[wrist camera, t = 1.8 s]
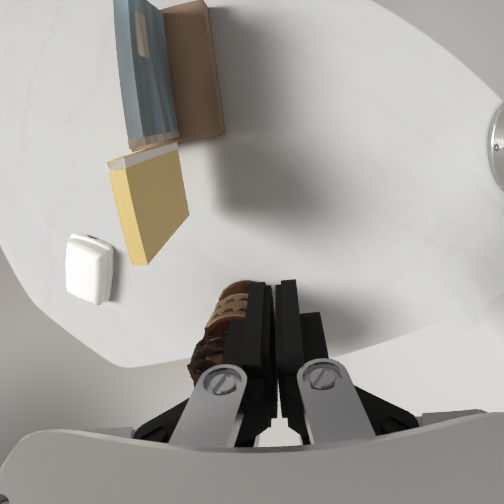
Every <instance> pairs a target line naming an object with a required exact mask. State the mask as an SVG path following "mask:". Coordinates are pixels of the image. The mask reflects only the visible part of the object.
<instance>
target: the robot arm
mask: <svg viewBox="0 0 504 504" xmlns="http://www.w3.org/2000/svg"><path fill="white" fill-rule="evenodd" d="M488 156H489V162H490V167H491V170H492V173H493V176H494V178H495V180H496V182H497V184H498V185H499V187H500V188H501V189H502V191H504V103H503V104H502V105H501V106H500V107H499V108H498V110H497V111H496V112H495V115H494V117H493V119H492V122H491V125H490V128H489V135H488ZM278 385H279V393H280V402H281V412H282V418H288V426H289V427H290V428H291V429H293V430H294V431H296V432H297V433H299V434H300V443H301V445H299V446H283V447H258V444H259V434H260V433H262V432H263V431H264V430H266V429H267V428H268V427H271V418H277V401H278V390H277V389H278ZM0 504H504V412H503V413H502V412H492V413H487V412H485V411H483V410H477V409H473V410H464V411H452V412H437V413H423V414H422V416H421V417H415V416H414V415H412V414H411V413H409V412H408V411H405V410H404V409H401V408H399V407H397V406H395V405H393V404H391V403H389V402H387V401H385V400H383V399H381V398H379V397H376V396H374V395H372V394H370V393H368V392H366V391H364V390H362V389H360V388H358V387H356V386H354V385H353V383H352V381H351V378H350V376H349V374H348V372H347V370H346V368H345V367H344V366H343V365H342V364H340V363H339V362H338V361H335V360H333V359H329V357H328V352H327V347H326V341H325V336H324V331H323V326H322V321H321V316H320V312H314V313H303V314H300V313H299V304H298V295H297V286H296V279H295V280H283V281H281V285H276V311H275V316H274V306H273V297H272V288H271V285H270V286H266V284H265V282H259V283H250V287H249V294H248V301H247V308H246V315H245V318H234V319H231V320H230V323H229V328H228V333H227V338H226V343H225V347H224V352H223V357H222V362H221V365H217V366H214V367H212V368H209V369H208V370H206V371H205V372H204V373H203V374H202V375H201V376H200V378H199V380H198V382H197V384H196V386H195V388H194V391H193V392H192V394H191V397H190V398H188V399H186V400H185V401H183V402H181V403H180V404H178V405H177V406H175V407H173V408H171V409H170V410H168V411H166V412H164V413H163V414H161V415H159V416H157V417H156V418H154V419H152V420H150V421H149V422H147V423H145V424H143V425H142V426H141V427H139V428H138V429H137V430H134V429H133V428H132V427H121V428H84V429H78V430H69V429H52V430H43V431H37V432H34V433H31V434H28V435H27V436H25V437H23V438H22V439H21V440H20V441H19V442H18V443H17V444H16V445H15V447H14V448H13V449H12V451H11V452H10V454H9V455H8V457H7V458H6V460H5V461H4V463H3V465H2V466H1V468H0Z"/></svg>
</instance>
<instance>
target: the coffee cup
mask: <svg viewBox="0 0 504 504" xmlns="http://www.w3.org/2000/svg"><path fill="white" fill-rule="evenodd" d="M250 283H256V282H251V281H239V282H236V283H233V284H231V285H229V286H228V287H227V288H226V289H224V290H223V292H222V294H221V296H220V297H219V302H218V303H217V305H216V308H215V310H214V312H213V314H212V316H211V317H210V319H209V321H208V322H207V324H206V327H205V335H204V337H203V339H202V340H201V341H199V342H198V344H196V348H195V350H194V353H193V355H192V358H191V363H190V364H188V365H187V367H188V370H189V372H190V375H191V378H192V379H193V381H194V387H195V386H196V384H197V382H198V380H199V378H200V376H201V375H202V374H203V373H204V372H205V371H206V370H208V369H209V368H212V367H214V366H217V365H221V362H222V357H223V352H224V347H225V343H226V338H227V333H228V328H229V323H230V320H231V319H234V318H245V315H246V308H247V301H248V294H249V287H250ZM274 316H275V313H274Z"/></svg>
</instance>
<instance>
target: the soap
mask: <svg viewBox="0 0 504 504" xmlns="http://www.w3.org/2000/svg"><path fill="white" fill-rule="evenodd" d="M113 258H114V257H113V247H112V246H111V245H110V244H108V243H106V242H104V241H102V240H99V239H93V238H91V237H88V235H86V234H82V233H77V232H74V233H73V234H71V237H70V240H69V241H68V243H67V251H66V283H67V291H68V292H69V293H71V294H73V295H75V296H77V297H79V298H81V299H83V300H85V301H88V302H91V303H94V304H97V305H100V304H102V303H103V302H107V301H108V300H109V299H110V293H111V287H112V278H113Z"/></svg>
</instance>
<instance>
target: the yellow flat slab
mask: <svg viewBox="0 0 504 504" xmlns="http://www.w3.org/2000/svg"><path fill="white" fill-rule="evenodd" d="M106 164H107V169H108V172H109V176H110V181H111V185H112V190H113V194H114V199H115V203H116V207H117V211H118V215H119V219H120V223H121V227H122V231H123V235H124V239H125V242H126V246H127V249H128V253H129V257H130V260H131V263H132V266H135V265H148V264H149V262H150V261H151V260H152V259H153V258H154V256H155V255H156V254H157V253H158V251H159V250H160V249H161V248H162V247H163V245H164V244H165V243H166V242H167V241H168V240H169V238H170V237H171V236H172V235H173V234H174V232H175V231H176V230H177V229H178V228H179V227H180V225H181V224H182V223H183V222H184V221H185V220H186V218H187V217H188V216H189V210H188V205H187V200H186V194H185V189H184V183H183V178H182V172H181V166H180V160H179V154H178V145H177V142H174V143H169V144H164V145H160V146H157V147H153V148H150V149H146V150H143V151H139V152H136V153H133V154H129V155H126V156H123V157H120V158H117V159H114V160H111V161H108V162H107V163H106Z"/></svg>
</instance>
